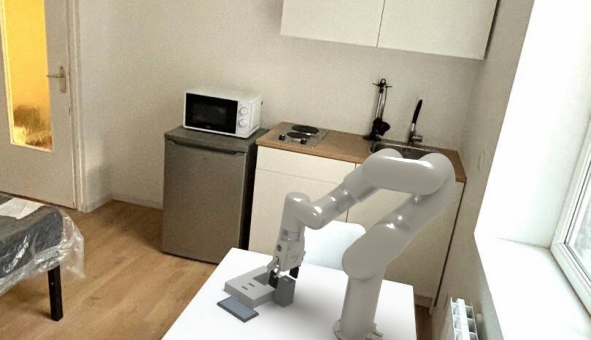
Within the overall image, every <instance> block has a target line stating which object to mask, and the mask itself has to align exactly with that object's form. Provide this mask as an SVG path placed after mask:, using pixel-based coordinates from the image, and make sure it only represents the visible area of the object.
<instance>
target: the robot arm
mask: <svg viewBox="0 0 591 340" xmlns="http://www.w3.org/2000/svg"><path fill="white" fill-rule="evenodd" d="M455 187H456V172H455V168H454V166H453V164H452V161H451V160H450V159H449V157H448V156H446V155H444V154H442V153H437V152H432V153H427V154H425V155H423V156H422V157H421V158H419V159H413V158H412V159H411V158H404V157H403V155H402V154H401V152H399V151H398V150H396V149H394V148H382V149H380V150H378V151H376V152H374V153H372V154H371V155H369V156H368V157H367V158H366V159H365V160H364V161H363V162H362V163H361V164H360V165H359V166H357V167H356V168H355V169H353V170H352V171H351V172H348V174H346V175H345V176H344V177H343V181H341V182H340V184H339V185H337V186H336V187H335V188H333V189H332V190H331V191H329V192H327V194H325V195H323V196H322V197H321V198H319V199H317V200H315V201H312V202H311V198H310V196H308V195H307V194H305V193H304V192H300V191H290V192H288V193H287V194H286V195H285V198H284V202H283V207H282V208H283V209H282V213H281V214H282V215H281V218H280V219H281V220H280V227H279V231H278V237H277V240H276V243H275V246H274V249H273V254H272V259H271V260H270V262H269V263H267V265H265V266H266V267H267V272H268V273H269V274H270V276H269V282H268V284H269V285H270V286H271V287H273V288H274V289H276V288H277V285H278V280H279V277H278V275H279V274H280V273H285V272H287V271H289V273H288V275H289V277H290V278H292V279H294V280H297V279H298V278H299V271H300V267H301V266H302V264H303V261H304V258H305V256H306V253H307V251H306V250H305V247H306V246H305V244H306V243H305V242H306V239H305V232H306V228H309V229H311V230H313V231H318V230H321V229H324V228H325V227H326V226H327V225H329V224H330V223H331V222H332V221H335V220H336V219H337V218H338V217H340V216H341V215H344V213H345V212H347V211H348V210H350V209H352V208H354V206H356V205H357V204H359V203H363V202H364V201H366V200H367V199H369V198H370V197H372V196H373V195H375V194H376V193H378V192H379V191H380V190H388V191H392V192H398V193H406V194H409V195H408V197H406V199H405V200H403V201H402V202H401V203H400V204H398V205H397V207H395V208H394V209H393V210H392V211H390V212H388V213H387V214H385V215H384V216H383V217H382V218H380V219H379V220H378V221H377V222H376V223H375V224H373V226H371V227H370V228H369V229H368V230H367V231H366V232H365V233H363V234H362V235H360V236H359V237H357V238H356V240H354V241H353V242H352V244H350V245H349V246H348V247H347V248H346V249H345V250H344V252H343V254H342V257H341V266H342V269H343V272H344V273H345V274H346V276H347V282H346V287H345V293H344V299H343V305H342V310H341V315H340V318H338V319H337V320H336V321H335V322H334V324H333V332H334V334H335V336H336V337H337V338H338V339H339V340H384V339H383V336H384V333H382V332H380V331H379V330H377V323H375V318H376V312H377V308H378V304H379V298H380V293H381V289H382V284H383V279H384V275H385V272H386V269H387V266H388V265H389V264H390V263H391V262H392V261H393V260H395V258H396V259H397V257H399V255H400V254H401V253H402V252H403V251H404V250H405V249H406V248H407V246H408V245H409V244H410V243H411V242H412V240H413V238H414V237H415V236H416V235H417V234H418V233H419V232H421V230H423V229H424V228H425V227H427V226H428V225H429V224H430V223H431V222H432V221H434V219H436V218H437V217H438V216H439V215H440V214H441V213H442V211H444V210H445V208H446V207H447V206H448V204H449V203H450V201H451V199H452V197H453V194H454V191H455ZM275 269H277V270H276V271H275ZM274 271H275V272H276V273H275V272H274Z"/></svg>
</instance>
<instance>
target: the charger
mask: <svg viewBox="0 0 591 340" xmlns="http://www.w3.org/2000/svg"><path fill="white" fill-rule="evenodd" d="M296 280H297V279H295V278H293V277H291V276H288V275H287V274H284V275H282V277H280V278H279V280H278V285H277V288H276V289H275V292H274V298H273V301H272V303H274V304H277V305H278V306H279V307H281V308H284V309H285V308H286V307H288V306H290V305H292V304H293V303H294V297H295V290H296V285H297V281H296Z"/></svg>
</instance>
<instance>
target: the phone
mask: <svg viewBox="0 0 591 340" xmlns="http://www.w3.org/2000/svg"><path fill="white" fill-rule="evenodd" d="M216 306H218V307H219V308H221V309H223V310H224V311H226V312H227V313H229V314H230V315H232V316H233V317H235V318H236V319H237V320H239V321H241V322H242V323H244V324H245V323H247V322H249V321H251V320H253V319H255V318H256V317H258V316H259V315H260V312H258V311H256V310H255V309H254V308H251V307H250V306H248V305H246V304H245V303H243V302H242V301H240V300H239V299H237V298H236V297H234V296H232V295H231V296H230V295H229V296H228V297H226V298H224V299H222V300H220V301H217V302H216Z"/></svg>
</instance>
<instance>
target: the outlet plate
mask: <svg viewBox="0 0 591 340" xmlns="http://www.w3.org/2000/svg"><path fill="white" fill-rule="evenodd" d="M266 266H267V265H261V266H259V267H257V268H255V269H252V270H250V271H248V272H245V273H243V274H240V275H239V276H236V277H234V278H232V279H229V280H227V281H224V287H223V291H225V292H226V293H228V294H230V295H231V296H232V297H234V298H235V299H237V300H239V301H240V302H242V303H243V304H245V305H247V306H248V307H250V308H251V309H254V308H257V307H259V306H261V305H262V304H264V303H267V302H269V301H271V300H272V299H274V292H275V289H274V288H273V287H271V286H270V285H269V284H268V282H269V276H270V274H269V273H268V272H267V267H266ZM274 272H275V273H276V272H277V271H275V270H274ZM282 276H283V275H282V274H280V273H279V275H278V277H279V278H280V277H282Z"/></svg>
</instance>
